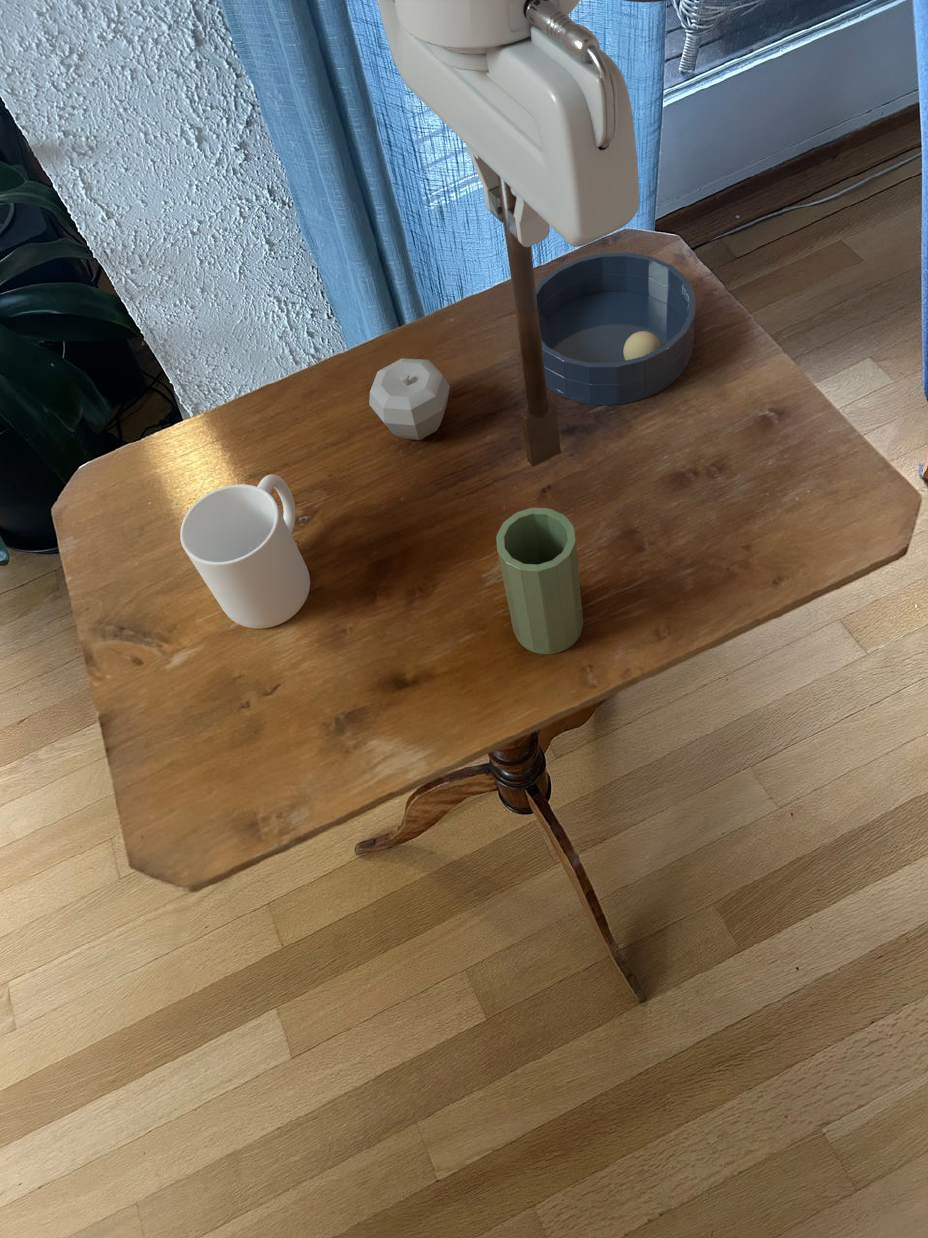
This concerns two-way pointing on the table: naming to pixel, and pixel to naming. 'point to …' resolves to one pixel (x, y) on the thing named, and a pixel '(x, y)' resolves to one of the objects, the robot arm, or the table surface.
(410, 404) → the grey apple
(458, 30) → the robot arm
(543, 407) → the dark wooden dowel
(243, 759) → the table surface
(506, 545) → the crock
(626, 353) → the dough ball
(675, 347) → the bowl
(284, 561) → the cup
